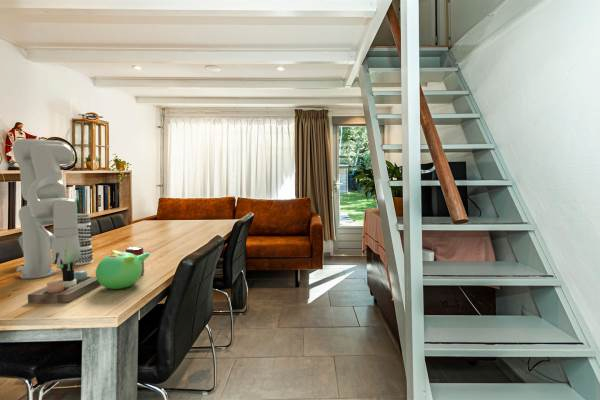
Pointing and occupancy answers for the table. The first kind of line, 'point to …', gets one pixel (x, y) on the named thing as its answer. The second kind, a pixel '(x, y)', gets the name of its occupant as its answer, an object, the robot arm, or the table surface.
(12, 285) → the table surface
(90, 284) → the brown wooden tray
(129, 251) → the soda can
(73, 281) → the cream button
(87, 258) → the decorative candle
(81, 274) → the slate-blue button
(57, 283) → the terracotta button
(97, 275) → the green rounded body
